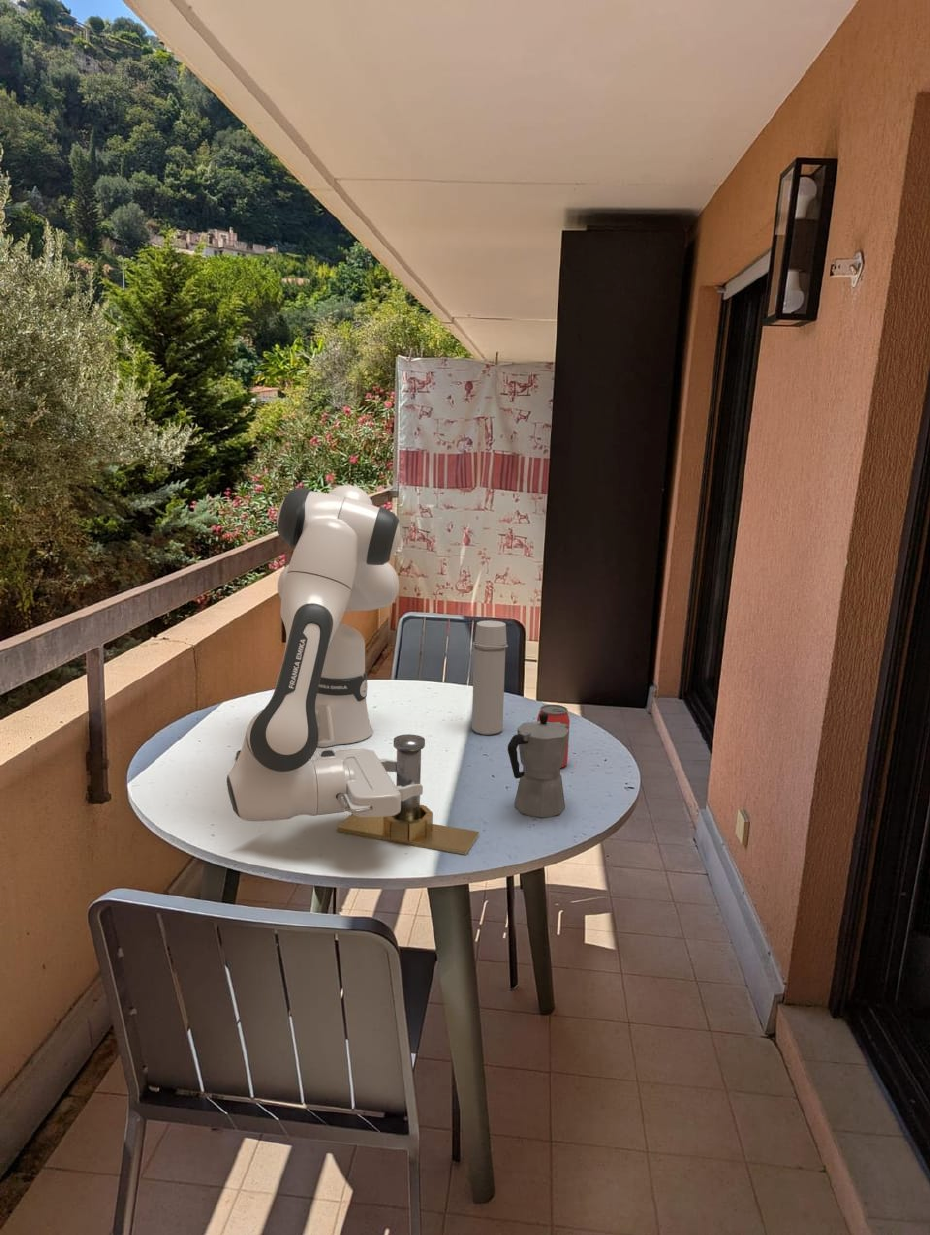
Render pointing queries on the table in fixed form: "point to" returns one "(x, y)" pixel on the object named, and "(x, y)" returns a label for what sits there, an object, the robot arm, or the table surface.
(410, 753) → the pin
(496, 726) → the water bottle
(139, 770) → the table surface
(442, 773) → the table surface
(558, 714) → the beer can
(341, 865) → the table surface
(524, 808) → the coffeepot
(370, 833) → the octagonal peg holder board
